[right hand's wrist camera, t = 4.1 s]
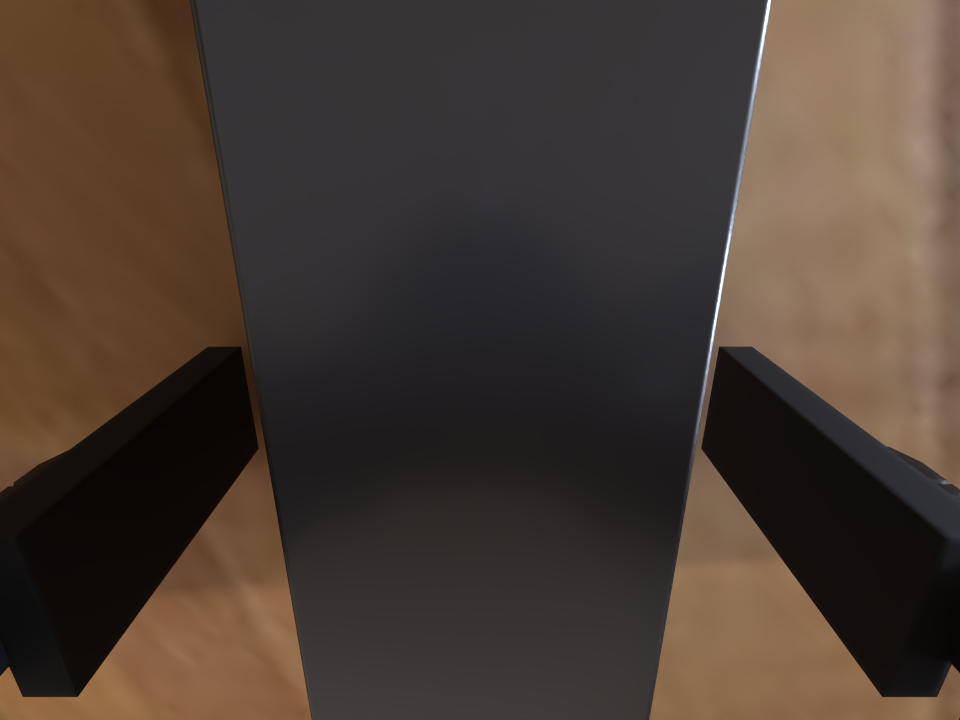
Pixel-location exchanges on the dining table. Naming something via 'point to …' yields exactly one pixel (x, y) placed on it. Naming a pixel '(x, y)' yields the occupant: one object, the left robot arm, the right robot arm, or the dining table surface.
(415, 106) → the plank
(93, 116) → the dining table surface
